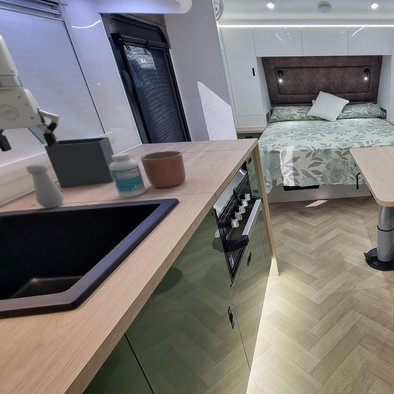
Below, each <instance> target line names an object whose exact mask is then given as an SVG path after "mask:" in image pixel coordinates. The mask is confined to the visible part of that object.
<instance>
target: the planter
mask: <svg viewBox="0 0 394 394" xmlns="http://www.w3.org/2000/svg"><path fill="white" fill-rule="evenodd" d="M183 157H184V156H183V153H182V152H181V151H178V150H165V151H155V152H151V153H146V154H144V155H141V157H140V161H141V163H142V167H143V170H144V172H145V175H146V179H147V180H148V182H149V184H150V185H151V186H153V187H154V188H158V189H159V188H161V189H162V188H163V189H164V188H171V187H176V186H179V185H181V184H182V183H183V182H185V180H186V168H185V163H184V158H183Z"/></svg>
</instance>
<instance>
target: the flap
mask: <svg viewBox="0 0 394 394" xmlns="http://www.w3.org/2000/svg"><path fill="white" fill-rule="evenodd" d="M27 129H28V131H30V133H31V134H32V135H33V136H34V137H35V138H36V139H37V140H38V141H39V143H41V145H45V144H47V143H46V140H45V138H44V135H43V134H44V133H45V132H44V131H42V130H41V129H39V128H37V127H32V128H27ZM54 136H55V138H56V140H59V139H58V137H57V135H55V134H54Z"/></svg>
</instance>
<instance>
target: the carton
mask: <svg viewBox="0 0 394 394" xmlns="http://www.w3.org/2000/svg"><path fill="white" fill-rule="evenodd" d="M56 141H57V144H56V146H55V147H52V148H50V147H48V145H47V144H46V145H44V149H45V151H46V154H47V158H48V159H49V161H50V164H51V167H52V169H53V171H54V173H55V176H56V178H57V181H58V183H59V186H60V189H64V188H65V189H66V188H74V187H81V186H83V187H84V186H91V185H100V184H109V183H114V179H113V176H112V173H111V170H110V167H109V166H110V164H111V163H112V162H114V160H113V159H112V155H114V151H113V148H112V145H111V142H110V139H109V137H107V136H105V137H90V138H77V139H75V138H74V139H61V140H56Z"/></svg>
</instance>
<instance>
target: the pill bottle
mask: <svg viewBox="0 0 394 394" xmlns="http://www.w3.org/2000/svg"><path fill="white" fill-rule="evenodd" d="M113 154H114V153H113ZM131 157H132V156H131V154H130V153H129V152H119V153H115V154H114V155H112V159H113V160H114V162H112V163H111V164H110V166H109V167H110V170H111V173H112V176H113V179H114V181H113V183H114V184H115V188H116V190H117V194H118V196H119V197H121V198H133V197H137V196H140V195H142V194H144V193H145V192H146V190H147V189H146V186H145V183H144V179H143V176H142V173H141V169H140V166H139V162H138V161H137V160H135V159H131Z"/></svg>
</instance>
